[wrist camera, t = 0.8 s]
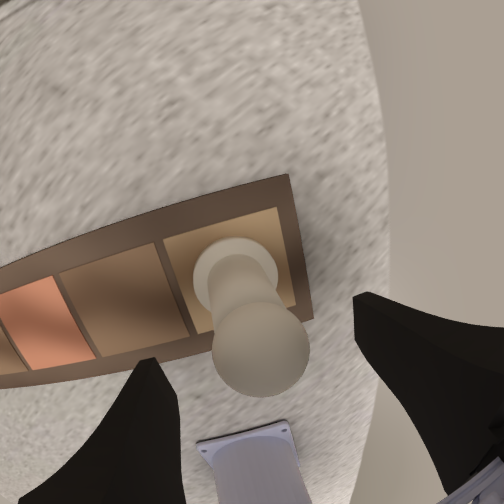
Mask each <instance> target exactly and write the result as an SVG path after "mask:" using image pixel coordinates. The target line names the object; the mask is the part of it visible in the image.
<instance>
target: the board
mask: <svg viewBox="0 0 504 504" xmlns="http://www.w3.org/2000/svg"><path fill="white" fill-rule="evenodd" d="M228 236H244V237H248V238H251V239H253V240H255V241H257V242H259V243H260V244H261V245H263V246H264V247H265V248H266V250H267V251H268V252H269V254H270V255H271V256H272V258H273V259H274V261H275V264H276V266H277V270H278V283H277V287H276V292H277V293H278V295H279V297H280V298H281V300H282V302H283V304H284V305H285V307H286V309H287V310H289V311H290V312H291V313H293V314H294V315H295V316H296V317H297V318H298V319H299V321H300V322H301V323H302V322H305V321H308V320H311V319H314V316H313V309H312V303H311V296H310V290H309V283H308V277H307V271H306V265H305V259H304V253H303V247H302V242H301V236H300V231H299V225H298V220H297V214H296V209H295V204H294V199H293V194H292V189H291V184H290V179H289V174H283V175H279V176H275V177H271V178H267V179H263V180H259V181H255V182H251V183H247V184H243V185H239V186H236V187H232V188H228V189H225V190H221V191H217V192H214V193H210V194H207V195H203V196H200V197H196V198H193V199H189V200H186V201H182V202H179V203H176V204H173V205H169V206H166V207H163V208H160V209H156V210H153V211H150V212H147V213H144V214H141V215H138V216H135V217H132V218H129V219H126V220H123V221H120V222H117V223H114V224H111V225H108V226H105V227H102V228H100V229H97V230H94V231H91V232H88V233H86V234H83V235H80V236H78V237H75V238H72V239H70V240H67V241H64V242H62V243H59V244H56V245H54V246H51V247H49V248H46V249H44V250H41V251H39V252H36V253H34V254H31V255H29V256H27V257H24V258H22V259H19V260H17V261H15V262H12V263H10V264H8V265H5V266H3V267H1V268H0V389H7V388H18V387H27V386H36V385H43V384H51V383H58V382H65V381H71V380H78V379H84V378H90V377H95V376H101V375H106V374H112V373H117V372H122V371H127V370H131V369H134V368H135V367H136V365H137V363H138V362H139V360H143V359H148V358H152V357H155V358H156V359H157V361H158V363H163V362H167V361H172V360H176V359H180V358H184V357H188V356H192V355H196V354H199V353H203V352H207V351H211V350H212V344H213V339H214V335H215V333H214V327H213V321H212V314H211V312H210V311H208V310H207V309H206V308H205V307H204V306H203V305H202V304H201V303H200V301H199V300H198V298H197V296H196V294H195V290H194V284H193V271H194V266H195V263H196V260H197V258H198V257H199V255H200V254H201V252H202V251H203V250H204V249H205V248H206V247H207V246H208V245H210V244H211V243H213V242H214V241H216V240H218V239H221V238H224V237H228Z"/></svg>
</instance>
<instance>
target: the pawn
mask: <svg viewBox="0 0 504 504" xmlns="http://www.w3.org/2000/svg"><path fill="white" fill-rule="evenodd" d="M277 283H278V270H277V266H276V264H275V261H274V259H273V258H272V256H271V255H270V254H269V252H268V251H267V250H266V248H265V247H264V246H263V245H261V244H260V243H259V242H257V241H255V240H253V239H251V238H248V237H244V236H228V237H224V238H221V239H218V240H216V241H214V242H213V243H211V244H210V245H208V246H207V247H206V248H205V249H204V250H203V251H202V252H201V254H200V255H199V257H198V258H197V260H196V263H195V266H194V271H193V284H194V290H195V294H196V296H197V298H198V300H199V301H200V303H201V304H202V305H203V306H204V307H205V308H206V309H207V310H208V311H210V312H211V314H212V321H213V327H214V333H215V335H214V339H213V344H212V357H213V362H214V365H215V368H216V370H217V372H218V374H219V375H220V377H221V378H222V379H223V381H224V382H225V383H226V384H227V385H228V386H230V387H231V388H232V389H234V390H235V391H237V392H239V393H241V394H244V395H247V396H252V397H269V396H274V395H277V394H280V393H282V392H284V391H286V390H288V389H289V388H290V387H292V386H293V385H294V384H295V383H296V382H297V381H298V380H299V379H300V377H301V376H302V374H303V373H304V371H305V369H306V366H307V364H308V360H309V353H310V346H309V340H308V336H307V333H306V330H305V328H304V326H303V325H302V323H301V322H300V321H299V319H298V318H297V317H296V316H295V315H294V314H293V313H291V312H290V311H289V310H287V309H286V307H285V305H284V304H283V302H282V300H281V298H280V297H279V295H278V293H277V292H276V287H277Z"/></svg>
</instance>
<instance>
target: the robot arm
mask: <svg viewBox="0 0 504 504" xmlns="http://www.w3.org/2000/svg"><path fill="white" fill-rule="evenodd" d="M353 312H354V335H355V341H356V343H357V345H358V346H359V348H360V350H361V352H362V353H363V355H364V357H365V358H366V360H367V361H368V362H369V364H370V365H371V366H372V368H373V369H374V370H375V371H376V373H377V374H378V375H379V376H380V378H381V379H382V380H383V381H384V382H385V384H386V385H387V386H388V388H389V389H390V390H391V391H392V392H393V394H394V395H395V396H396V398H397V399H398V400H399V401H400V403H401V404H402V406H403V407H404V409H405V410H406V412H407V414H408V415H409V417H410V418H411V420H412V422H413V424H414V425H415V427H416V429H417V430H418V433H419V434H420V436H421V438H422V440H423V442H424V444H425V446H426V448H427V450H428V452H429V454H430V456H431V458H432V461H433V463H434V465H435V467H436V470H437V472H438V475H439V477H440V480H441V482H442V485H443V488H444V490H445V492H446V493H447V495H448V496H447V497H446V498H444V499H443V500H441V501H440V502H438V503H437V504H468V503H469V502H470V501H472V500H473V499H474V498H475V499H474V500H473V502H472V504H504V328H503V327H489V326H480V325H473V324H467V323H462V322H457V321H453V320H448V319H445V318H441V317H438V316H435V315H431V314H428V313H425V312H422V311H419V310H416V309H413V308H411V307H408V306H405V305H403V304H400V303H397V302H395V301H392V300H390V299H387V298H384V297H382V296H379V295H376V294H374V293H371V292H364V293H362V294H359V295H356V296H354V297H353ZM196 449H197V450H198V452H199V453H200V454H201V455H202V457H203V458H204V459H205V461H206V462H207V463H208V464H209V466H210V467H211V468H212V469H213V470H214V476H215V482H216V488H217V494H218V500H219V504H312V501H311V499H310V496H309V494H308V491H307V489H306V486H305V483H304V481H303V478H302V476H301V473H300V470H299V467H300V463H299V459H298V455H297V452H296V448H295V445H294V441H293V437H292V434H291V430H290V426H289V424H288V422H287V421H281V422H278V423H275V424H271V425H268V426H265V427H261V428H258V429H254V430H251V431H247V432H243V433H239V434H235V435H231V436H227V437H223V438H218V439H214V440H209V441H204V442H199V443H197V444H196ZM18 504H186V499H185V494H184V489H183V483H182V474H181V442H180V414H179V407H178V400H177V394H176V393H175V391H174V389H173V388H172V386H171V384H170V383H169V381H168V379H167V377H166V376H165V374H164V372H163V370H162V369H161V367H160V365H159V363H158V361H157V359H156V358H155V357H152V358H148V359H143V360H139V362H138V363H137V365H136V367H135V368H134V370H133V372H132V373H131V375H130V377H129V378H128V380H127V382H126V383H125V385H124V387H123V388H122V390H121V392H120V393H119V395H118V397H117V398H116V400H115V402H114V403H113V405H112V406H111V408H110V409H109V411H108V412H107V414H106V415H105V417H104V418H103V420H102V421H101V423H100V424H99V426H98V427H97V428H96V430H95V431H94V432H93V434H92V435H91V436H90V437H89V438H88V440H87V441H86V442H85V443H84V445H83V446H82V447H81V448H80V449H79V450H78V451H77V452H76V453H75V454H74V455H73V456H72V457H71V458H70V459H69V460H68V461H67V462H66V464H65V465H63V466H62V467H61V468H60V469H59V470H58V471H57V472H56V473H55V474H53V475H52V476H51V477H50V478H48V479H47V480H46V481H45V482H43V483H42V484H41V485H39V486H38V487H36V488H35V489H33V490H32V491H30V492H29V493H27V494H26V495H24V496H23V497H21V498H19V501H18Z"/></svg>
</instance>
